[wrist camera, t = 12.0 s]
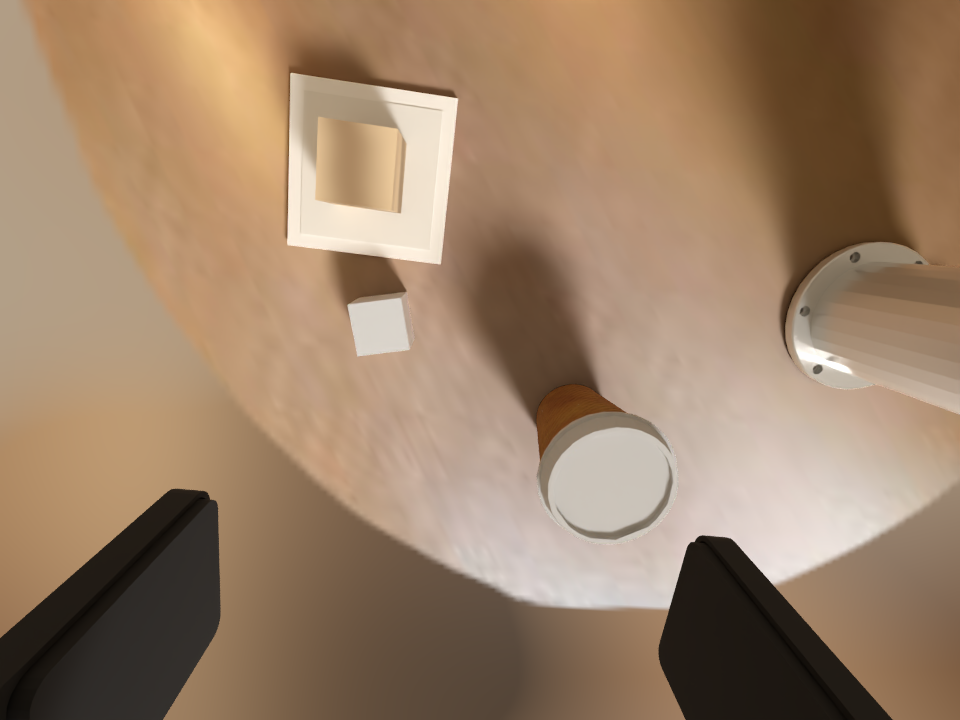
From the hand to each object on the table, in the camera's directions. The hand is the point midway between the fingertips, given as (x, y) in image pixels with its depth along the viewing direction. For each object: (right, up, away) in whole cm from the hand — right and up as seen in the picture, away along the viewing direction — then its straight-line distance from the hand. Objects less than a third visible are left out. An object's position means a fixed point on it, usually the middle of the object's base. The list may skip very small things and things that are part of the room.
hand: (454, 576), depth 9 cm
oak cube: (-8, +18, +25) cm, 32 cm away
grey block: (-7, +8, +29) cm, 31 cm away
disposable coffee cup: (+9, -1, +32) cm, 33 cm away
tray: (-8, +19, +26) cm, 33 cm away
